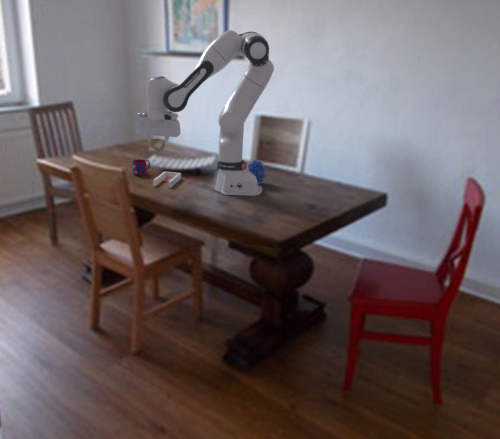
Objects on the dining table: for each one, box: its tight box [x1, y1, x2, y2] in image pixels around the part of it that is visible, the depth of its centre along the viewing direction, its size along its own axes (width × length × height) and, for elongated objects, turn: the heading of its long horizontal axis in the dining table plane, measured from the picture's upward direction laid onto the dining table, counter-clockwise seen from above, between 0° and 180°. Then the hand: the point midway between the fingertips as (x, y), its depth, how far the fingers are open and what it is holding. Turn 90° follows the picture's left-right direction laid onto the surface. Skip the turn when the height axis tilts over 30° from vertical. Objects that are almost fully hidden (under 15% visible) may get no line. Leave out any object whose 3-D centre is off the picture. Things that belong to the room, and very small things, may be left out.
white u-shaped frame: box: [152, 171, 182, 189], centre depth 267 cm, size 9×16×3 cm, turn 169°
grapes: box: [247, 160, 267, 183], centre depth 269 cm, size 12×7×12 cm, turn 127°
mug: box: [132, 158, 151, 177], centre depth 280 cm, size 7×10×7 cm
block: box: [148, 136, 166, 152], centre depth 248 cm, size 5×7×4 cm
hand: (158, 145), depth 249 cm, fingers closed on block, 5 cm apart
